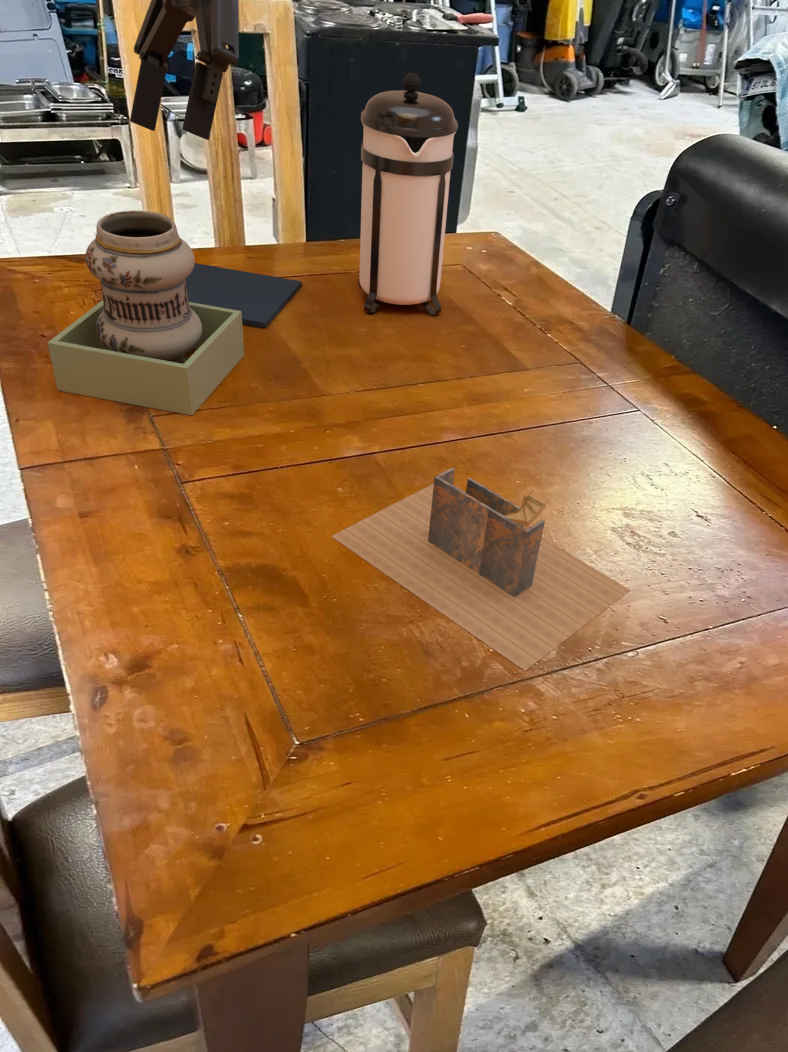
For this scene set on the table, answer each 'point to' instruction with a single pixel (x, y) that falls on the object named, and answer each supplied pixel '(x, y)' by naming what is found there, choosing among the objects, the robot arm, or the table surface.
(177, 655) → the table surface
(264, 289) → the mat
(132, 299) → the apothecary jar
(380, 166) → the coffee press
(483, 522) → the architectural model on board
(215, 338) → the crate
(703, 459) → the table surface
